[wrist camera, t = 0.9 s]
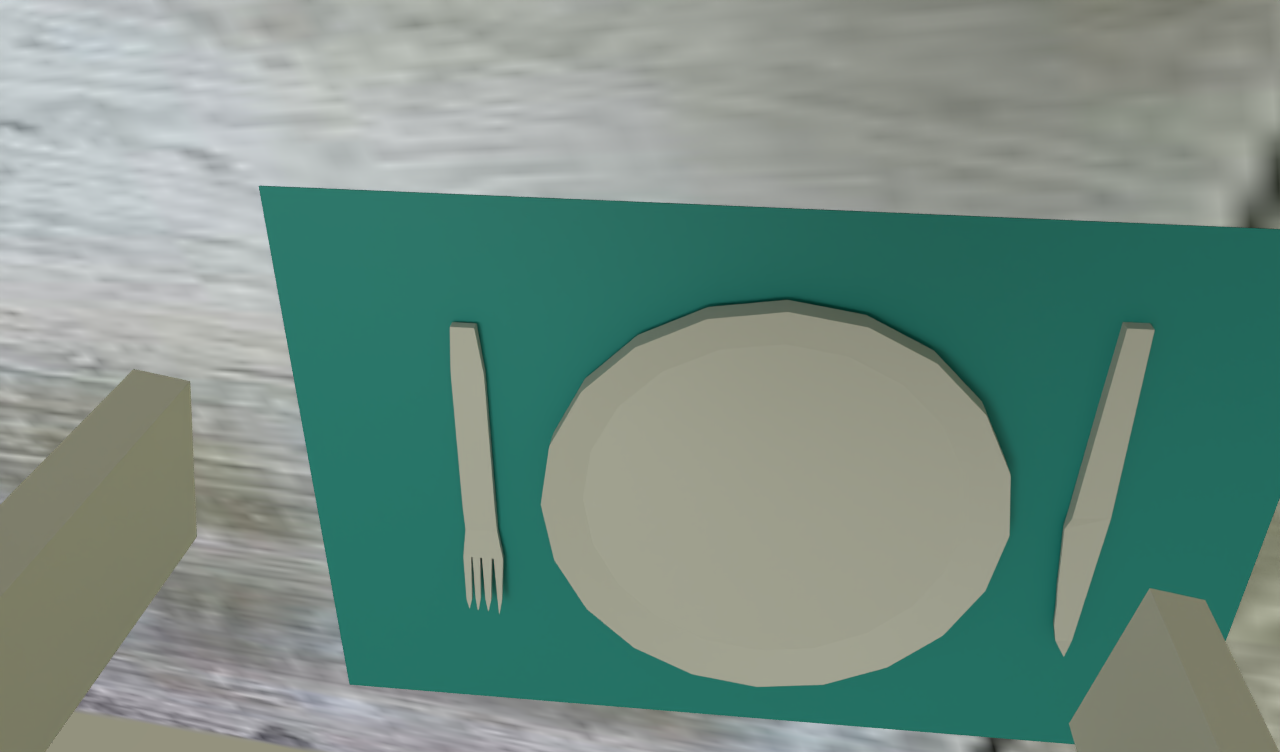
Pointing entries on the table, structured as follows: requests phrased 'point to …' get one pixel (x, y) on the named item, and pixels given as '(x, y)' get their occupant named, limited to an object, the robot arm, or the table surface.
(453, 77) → the table surface
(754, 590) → the place mat
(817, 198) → the table surface
